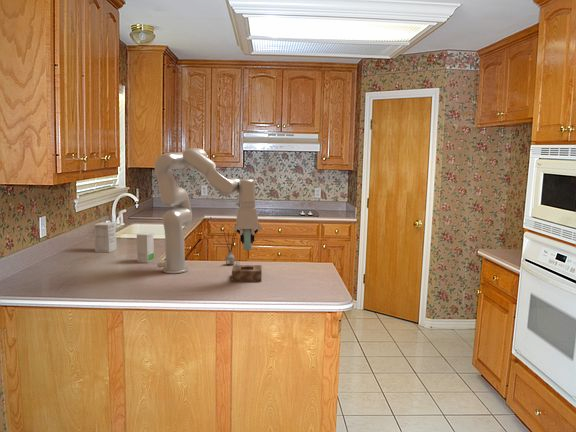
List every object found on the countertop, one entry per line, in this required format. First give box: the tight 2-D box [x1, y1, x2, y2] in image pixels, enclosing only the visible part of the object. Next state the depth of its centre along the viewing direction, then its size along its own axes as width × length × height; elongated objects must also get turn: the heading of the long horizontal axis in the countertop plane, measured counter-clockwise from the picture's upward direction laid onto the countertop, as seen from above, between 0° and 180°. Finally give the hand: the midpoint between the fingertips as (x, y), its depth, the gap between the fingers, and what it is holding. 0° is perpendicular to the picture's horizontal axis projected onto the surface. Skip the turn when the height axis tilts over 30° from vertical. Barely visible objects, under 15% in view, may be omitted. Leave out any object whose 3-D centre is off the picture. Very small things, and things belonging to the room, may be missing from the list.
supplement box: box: [93, 221, 118, 253], centre depth 306 cm, size 10×9×17 cm
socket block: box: [231, 264, 263, 283], centre depth 247 cm, size 14×12×5 cm
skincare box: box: [136, 232, 155, 264], centre depth 280 cm, size 8×7×16 cm
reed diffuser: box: [222, 228, 241, 265], centre depth 274 cm, size 10×7×20 cm
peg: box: [242, 229, 253, 251], centre depth 244 cm, size 4×4×10 cm
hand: (247, 242), depth 245 cm, fingers closed on peg, 4 cm apart
